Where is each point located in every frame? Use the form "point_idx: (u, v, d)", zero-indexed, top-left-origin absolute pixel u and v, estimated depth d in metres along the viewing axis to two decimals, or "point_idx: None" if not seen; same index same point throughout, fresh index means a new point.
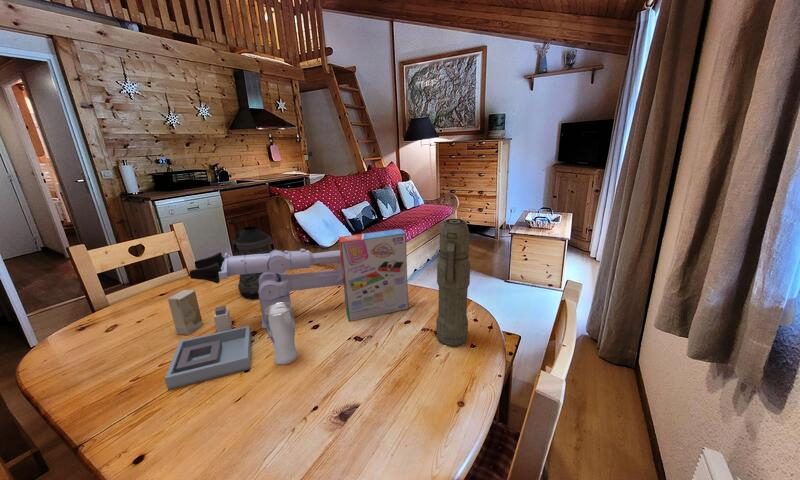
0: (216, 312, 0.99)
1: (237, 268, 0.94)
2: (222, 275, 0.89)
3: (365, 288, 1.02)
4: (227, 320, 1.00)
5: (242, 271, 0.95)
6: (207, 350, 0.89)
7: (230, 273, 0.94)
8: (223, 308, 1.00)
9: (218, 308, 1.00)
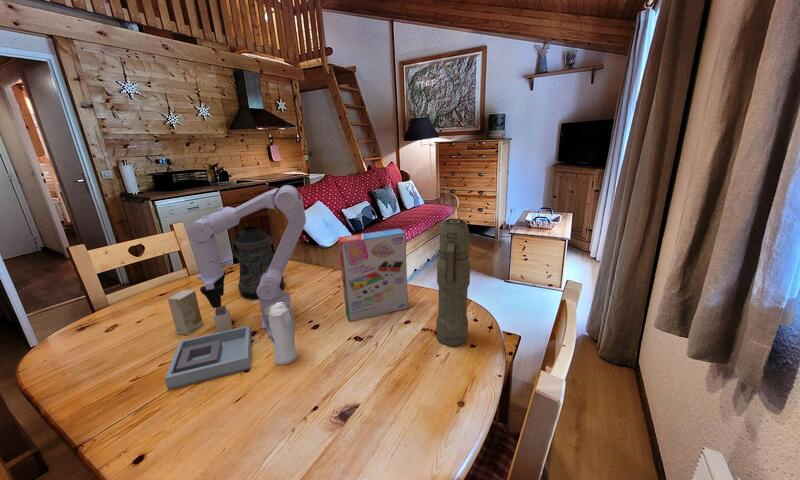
0: (216, 312, 0.99)
1: (208, 269, 0.93)
2: (209, 286, 0.90)
3: (365, 288, 1.02)
4: (227, 320, 1.00)
5: (212, 264, 0.94)
6: (207, 350, 0.89)
7: (216, 274, 0.95)
8: (223, 308, 1.00)
9: (218, 308, 1.00)
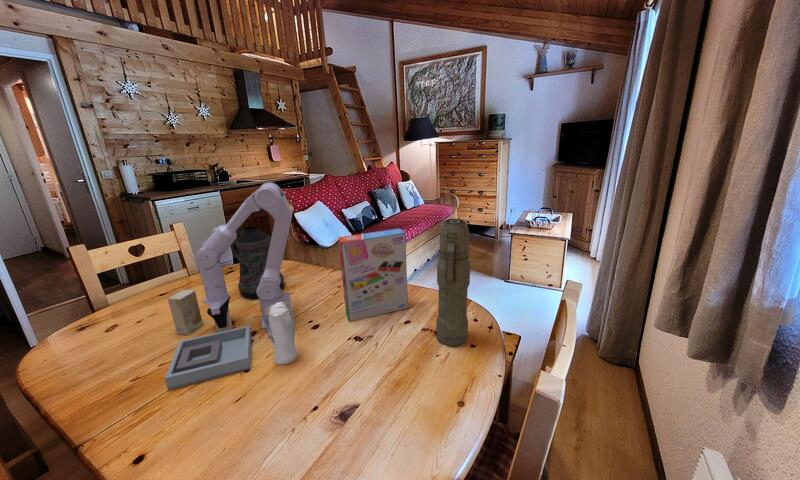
0: None
1: (213, 294, 0.96)
2: (215, 311, 0.93)
3: (365, 288, 1.02)
4: (227, 320, 1.00)
5: (218, 289, 0.96)
6: (207, 350, 0.89)
7: (221, 298, 0.97)
8: None
9: None
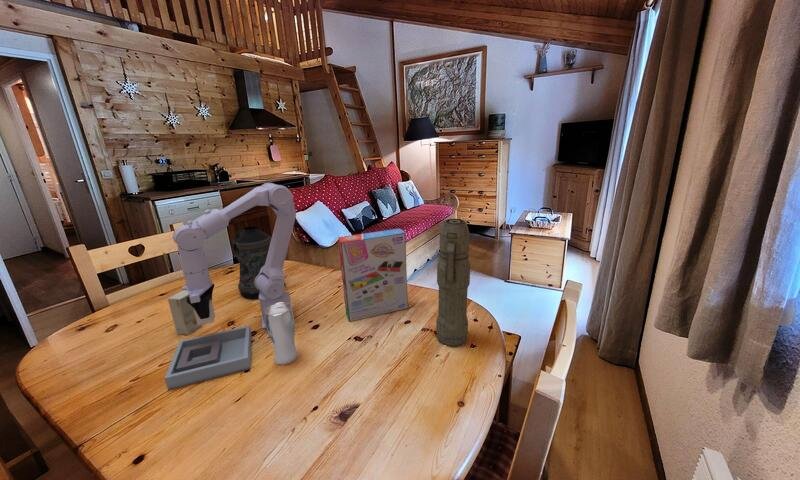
0: None
1: (194, 280, 0.85)
2: (194, 299, 0.82)
3: (365, 288, 1.02)
4: None
5: (198, 275, 0.86)
6: (207, 350, 0.89)
7: (202, 285, 0.87)
8: None
9: None
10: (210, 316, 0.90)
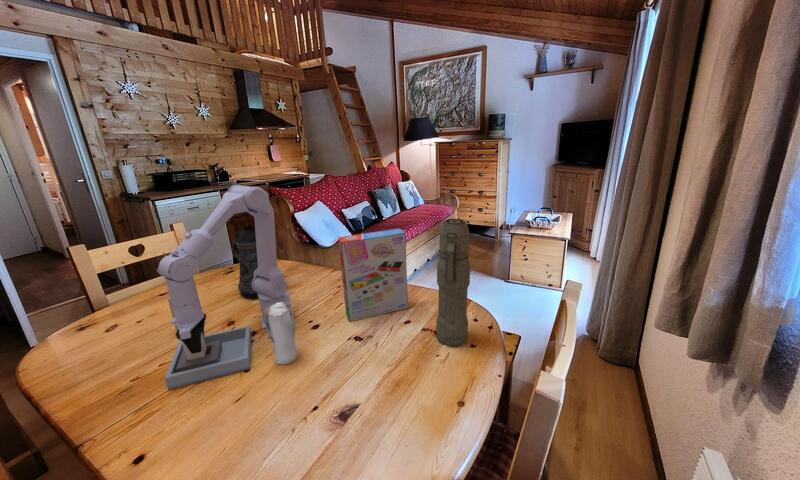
0: None
1: (184, 313, 0.79)
2: (184, 335, 0.76)
3: (365, 288, 1.02)
4: None
5: (189, 307, 0.79)
6: (207, 350, 0.89)
7: (193, 318, 0.81)
8: None
9: None
10: (201, 350, 0.84)
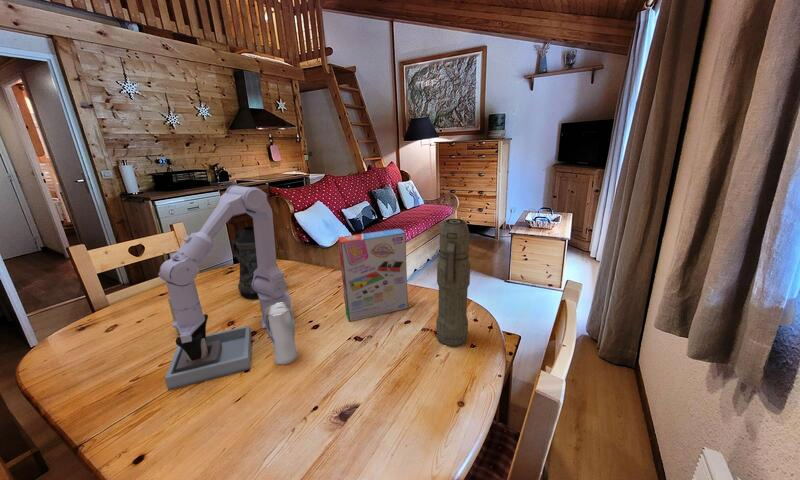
0: None
1: (185, 317, 0.80)
2: (185, 339, 0.77)
3: (365, 288, 1.02)
4: (202, 353, 0.84)
5: (190, 311, 0.80)
6: None
7: (194, 322, 0.81)
8: None
9: None
10: None
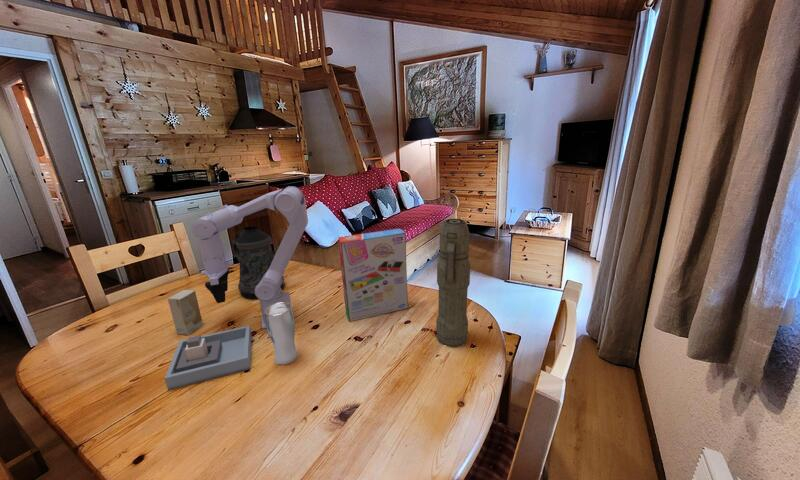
0: (188, 344, 0.83)
1: (212, 265, 0.95)
2: (214, 281, 0.92)
3: (365, 288, 1.02)
4: (202, 353, 0.84)
5: (216, 260, 0.95)
6: None
7: (220, 270, 0.97)
8: (197, 338, 0.84)
9: (191, 338, 0.85)
10: None
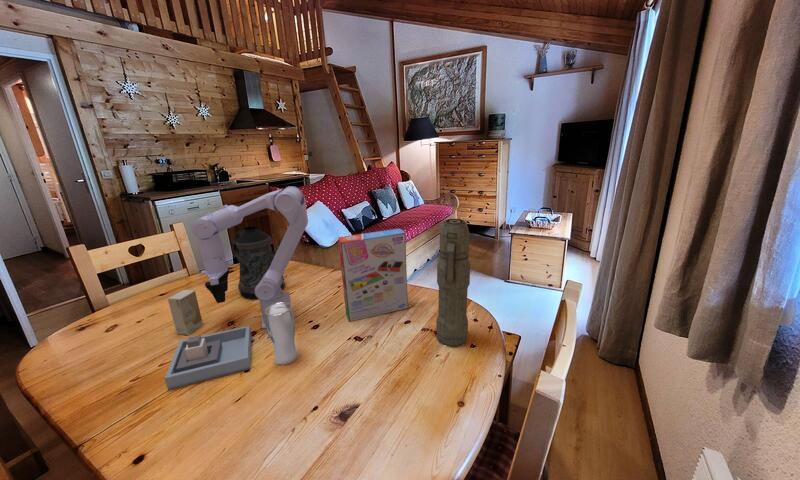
0: (188, 344, 0.83)
1: (212, 265, 0.95)
2: (213, 281, 0.92)
3: (365, 288, 1.02)
4: (202, 353, 0.84)
5: (216, 260, 0.95)
6: None
7: (220, 270, 0.97)
8: (197, 338, 0.84)
9: (191, 338, 0.85)
10: None
